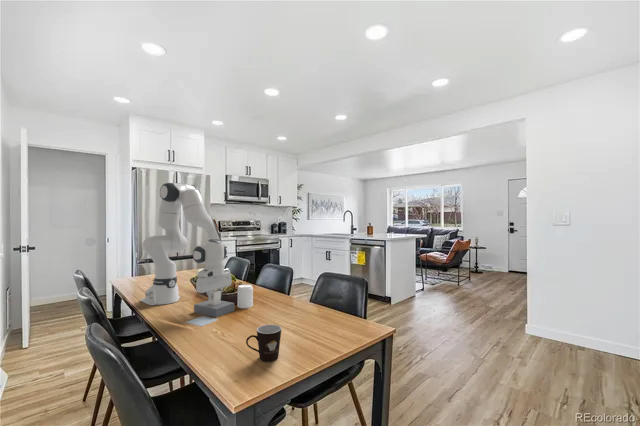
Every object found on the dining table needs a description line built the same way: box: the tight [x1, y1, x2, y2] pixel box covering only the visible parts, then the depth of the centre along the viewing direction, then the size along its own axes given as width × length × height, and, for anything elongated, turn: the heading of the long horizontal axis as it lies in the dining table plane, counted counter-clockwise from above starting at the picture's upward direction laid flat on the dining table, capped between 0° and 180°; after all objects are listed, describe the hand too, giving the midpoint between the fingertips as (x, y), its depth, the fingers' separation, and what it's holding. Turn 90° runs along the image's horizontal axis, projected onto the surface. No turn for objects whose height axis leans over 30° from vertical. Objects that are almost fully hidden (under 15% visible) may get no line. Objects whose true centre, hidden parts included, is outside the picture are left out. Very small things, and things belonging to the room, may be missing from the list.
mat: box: [185, 315, 219, 327], centre depth 139 cm, size 11×10×1 cm
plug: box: [208, 289, 222, 305], centre depth 153 cm, size 4×4×10 cm
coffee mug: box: [245, 324, 282, 363], centre depth 104 cm, size 12×9×10 cm
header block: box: [193, 299, 235, 318], centre depth 153 cm, size 16×12×5 cm
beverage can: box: [237, 284, 254, 309], centre depth 163 cm, size 8×8×12 cm
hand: (214, 298), depth 153 cm, fingers closed on plug, 4 cm apart
